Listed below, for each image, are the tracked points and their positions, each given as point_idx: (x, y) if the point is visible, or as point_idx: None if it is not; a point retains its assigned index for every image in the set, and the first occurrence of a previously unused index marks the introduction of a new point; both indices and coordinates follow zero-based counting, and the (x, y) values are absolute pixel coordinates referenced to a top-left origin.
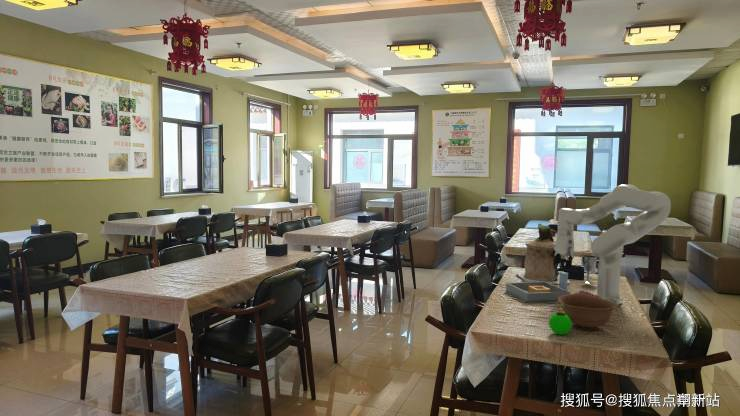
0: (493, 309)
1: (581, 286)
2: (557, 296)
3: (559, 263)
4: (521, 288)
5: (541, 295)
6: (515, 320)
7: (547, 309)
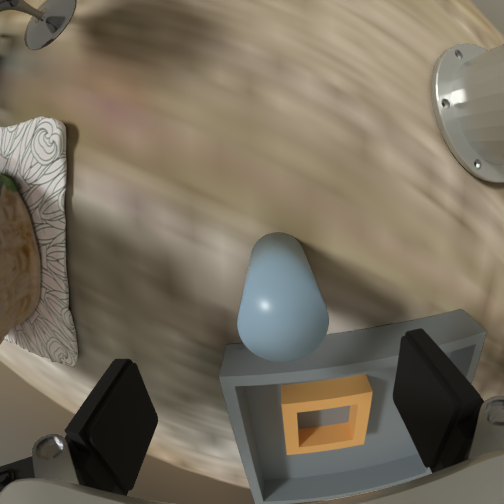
0: None
1: (117, 64)
2: None
3: (139, 375)
4: (257, 454)
5: None
6: None
7: None
